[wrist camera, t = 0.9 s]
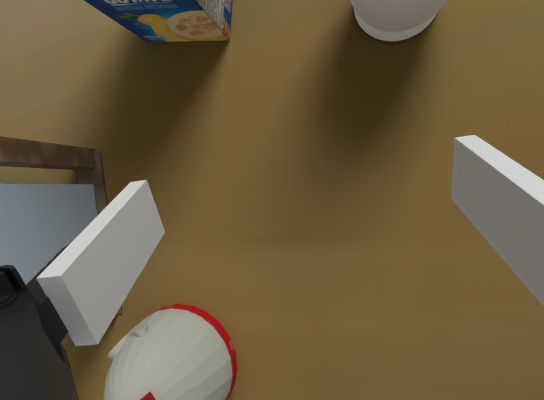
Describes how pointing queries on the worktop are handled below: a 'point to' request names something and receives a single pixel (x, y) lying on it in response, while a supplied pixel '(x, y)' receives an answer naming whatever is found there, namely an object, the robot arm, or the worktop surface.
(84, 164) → the door frame
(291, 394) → the worktop surface
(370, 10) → the jar
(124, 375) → the kitchen timer
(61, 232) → the door
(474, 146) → the robot arm
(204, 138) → the worktop surface
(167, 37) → the blue cardboard box
